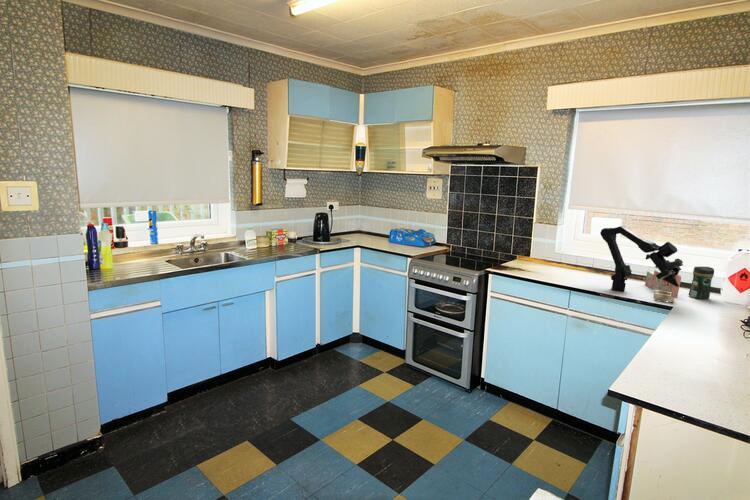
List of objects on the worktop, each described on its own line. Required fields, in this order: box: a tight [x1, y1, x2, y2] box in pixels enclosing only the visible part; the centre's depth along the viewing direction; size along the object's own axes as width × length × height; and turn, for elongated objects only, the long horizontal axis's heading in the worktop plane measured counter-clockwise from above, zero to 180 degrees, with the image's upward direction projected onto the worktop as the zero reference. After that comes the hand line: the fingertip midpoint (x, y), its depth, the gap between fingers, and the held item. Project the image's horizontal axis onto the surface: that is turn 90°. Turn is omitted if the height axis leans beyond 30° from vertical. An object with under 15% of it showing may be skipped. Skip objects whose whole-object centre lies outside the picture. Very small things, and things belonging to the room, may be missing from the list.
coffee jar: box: [688, 266, 715, 300], centre depth 248 cm, size 10×8×19 cm
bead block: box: [653, 290, 675, 303], centre depth 242 cm, size 9×9×4 cm
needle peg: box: [671, 274, 682, 299], centre depth 232 cm, size 3×3×12 cm
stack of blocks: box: [644, 269, 673, 292], centre depth 261 cm, size 21×6×12 cm, turn 169°
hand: (679, 286), depth 231 cm, fingers closed on needle peg, 3 cm apart
